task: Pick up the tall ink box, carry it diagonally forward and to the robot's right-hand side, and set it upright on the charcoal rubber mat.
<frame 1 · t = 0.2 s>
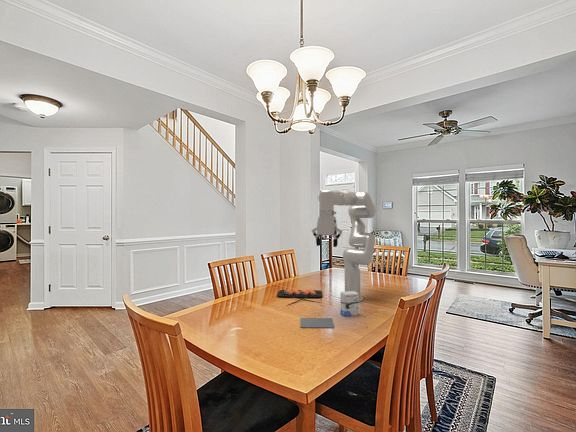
hand: (326, 246, 162), 36 cm above the table, tool pointing down, fingers open, 9 cm apart
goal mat: (316, 323, 150), on the table
ink box: (349, 314, 162), on the table
sushi plate: (299, 299, 191), on the table
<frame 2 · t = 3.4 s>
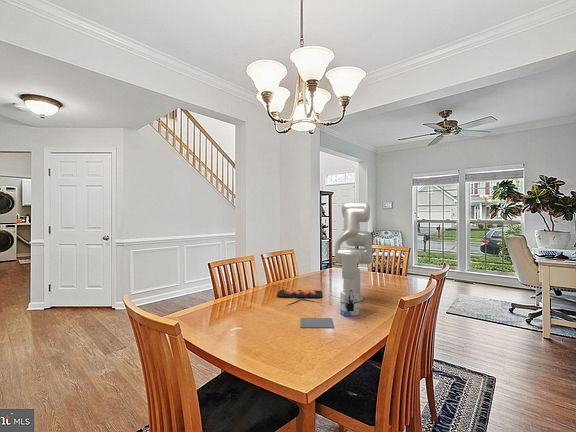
hand: (349, 308, 162), 3 cm above the table, tool pointing down, fingers closed on ink box, 6 cm apart
ink box: (349, 314, 162), on the table, touching gripper
everything else where it was.
when the fingers open (5 cm above the table, at t = 9.8 s): ink box drops 1 cm, resting on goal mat.
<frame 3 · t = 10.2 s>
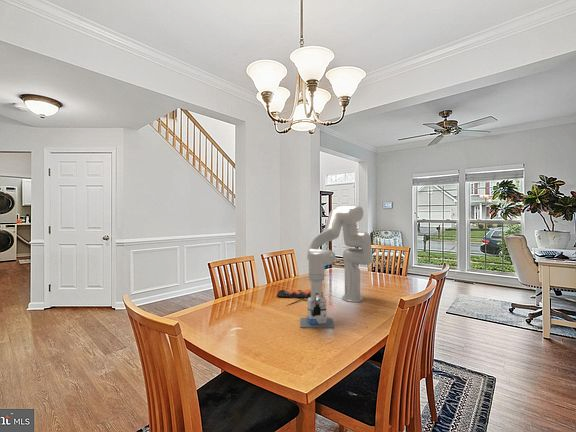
hand: (316, 311, 150), 6 cm above the table, tool pointing down, fingers open, 9 cm apart
ink box: (317, 322, 150), resting on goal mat
everything else where it was.
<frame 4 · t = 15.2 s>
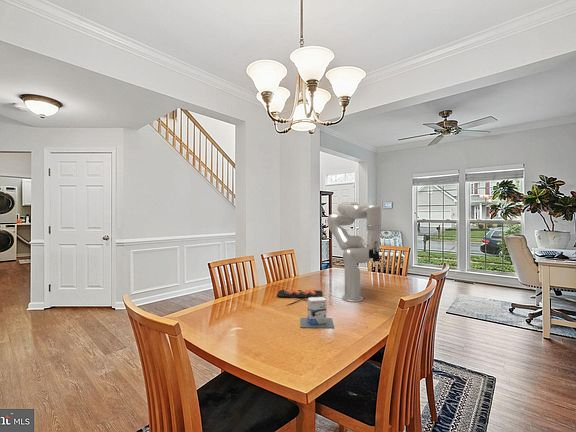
hand: (373, 259, 166), 28 cm above the table, tool pointing down, fingers open, 9 cm apart
nothing on the table moved.
at the end: ink box inside the target area on the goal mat (0.1 cm from its centre), point 0.3 cm above the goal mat's base; ink box tilted 0°; the gripper is holding nothing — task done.
